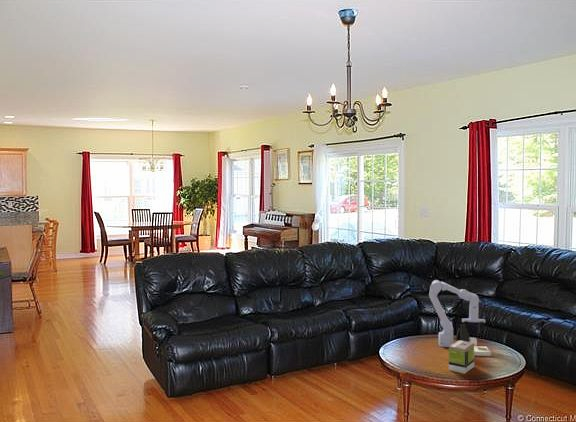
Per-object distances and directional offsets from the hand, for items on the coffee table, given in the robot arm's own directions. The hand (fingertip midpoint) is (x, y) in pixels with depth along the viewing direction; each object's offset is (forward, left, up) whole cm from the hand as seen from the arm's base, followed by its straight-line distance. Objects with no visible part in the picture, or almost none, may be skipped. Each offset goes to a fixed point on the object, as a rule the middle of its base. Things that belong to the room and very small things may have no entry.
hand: (473, 332), depth 355 cm
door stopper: (-4, +12, -10) cm, 16 cm away
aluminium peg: (0, 0, -10) cm, 10 cm away
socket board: (-1, -12, -10) cm, 15 cm away
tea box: (-16, -42, -10) cm, 46 cm away
